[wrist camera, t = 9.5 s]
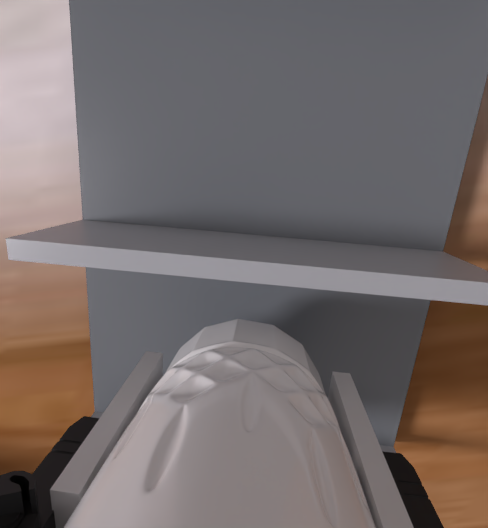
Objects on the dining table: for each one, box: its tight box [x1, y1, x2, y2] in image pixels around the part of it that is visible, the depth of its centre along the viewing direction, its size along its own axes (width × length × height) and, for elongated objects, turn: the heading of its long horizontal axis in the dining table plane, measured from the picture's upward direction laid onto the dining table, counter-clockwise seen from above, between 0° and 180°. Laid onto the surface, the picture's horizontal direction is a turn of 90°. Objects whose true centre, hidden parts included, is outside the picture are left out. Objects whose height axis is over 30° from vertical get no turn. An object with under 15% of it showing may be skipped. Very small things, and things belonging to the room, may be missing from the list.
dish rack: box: [6, 0, 488, 453], centre depth 14 cm, size 24×18×6 cm
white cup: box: [63, 319, 376, 528], centre depth 10 cm, size 8×8×10 cm
